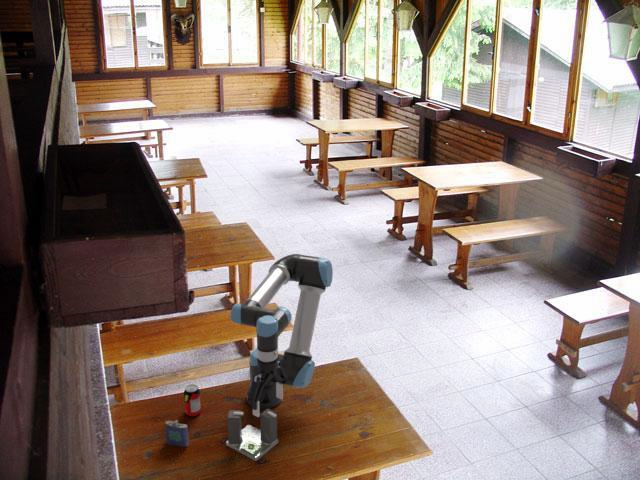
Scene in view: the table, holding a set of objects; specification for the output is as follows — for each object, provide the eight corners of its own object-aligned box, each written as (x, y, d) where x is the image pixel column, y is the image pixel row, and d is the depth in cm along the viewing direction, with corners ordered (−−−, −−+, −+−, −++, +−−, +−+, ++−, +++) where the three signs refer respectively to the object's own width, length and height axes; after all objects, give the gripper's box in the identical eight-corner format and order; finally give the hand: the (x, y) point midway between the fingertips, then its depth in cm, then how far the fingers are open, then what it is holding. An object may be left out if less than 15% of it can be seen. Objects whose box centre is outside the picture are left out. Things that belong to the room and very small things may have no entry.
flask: (190, 443, 245) (188, 420, 241) (186, 448, 242) (184, 425, 238) (168, 439, 247) (166, 416, 243) (164, 443, 244) (162, 420, 240)
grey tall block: (260, 440, 244) (260, 412, 240) (268, 434, 248) (267, 406, 243) (272, 446, 241) (271, 418, 237) (279, 439, 245) (279, 412, 240)
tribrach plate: (225, 445, 244) (224, 438, 243) (248, 426, 254) (248, 420, 253) (256, 462, 236) (255, 455, 235) (279, 442, 246) (279, 435, 245)
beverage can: (199, 406, 266) (198, 382, 261) (202, 415, 260) (200, 391, 256) (184, 409, 264) (182, 385, 260) (186, 418, 258) (184, 393, 254)
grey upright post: (228, 443, 242) (227, 416, 237) (230, 436, 246) (229, 408, 241) (243, 444, 242) (242, 416, 237) (245, 436, 246) (244, 409, 241)
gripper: (252, 376, 220) (253, 427, 227) (296, 346, 239) (296, 394, 246) (236, 369, 224) (237, 419, 231) (281, 340, 243) (281, 387, 250)
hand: (268, 406), depth 239 cm, fingers open, 13 cm apart
